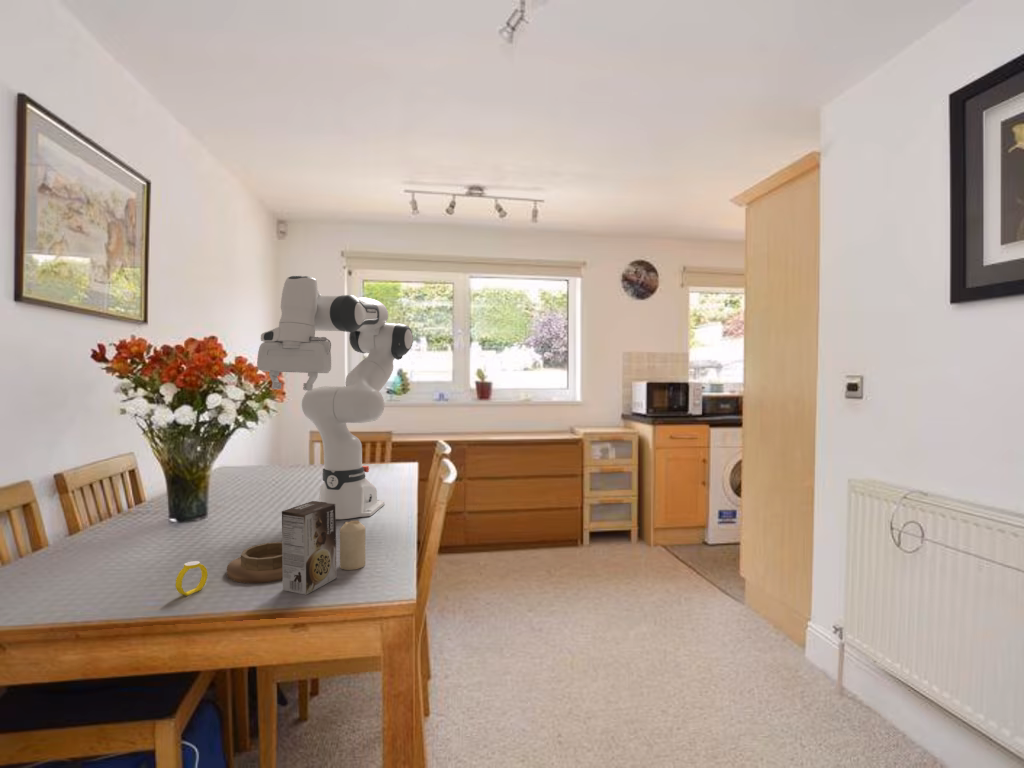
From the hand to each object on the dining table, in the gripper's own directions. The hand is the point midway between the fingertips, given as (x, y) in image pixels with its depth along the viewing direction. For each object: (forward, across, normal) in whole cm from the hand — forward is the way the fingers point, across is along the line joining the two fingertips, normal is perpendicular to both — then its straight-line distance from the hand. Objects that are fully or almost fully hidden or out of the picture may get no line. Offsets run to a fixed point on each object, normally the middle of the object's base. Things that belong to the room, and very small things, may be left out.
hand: (291, 389), depth 138 cm
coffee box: (+41, -23, +19) cm, 51 cm away
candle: (+40, -26, +7) cm, 48 cm away
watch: (+43, -3, +29) cm, 52 cm away
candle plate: (+41, -9, +14) cm, 44 cm away
